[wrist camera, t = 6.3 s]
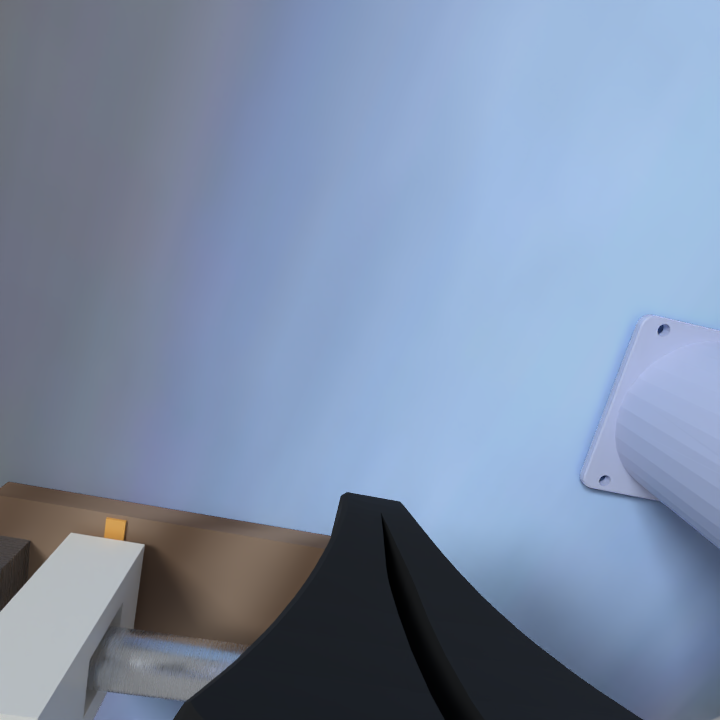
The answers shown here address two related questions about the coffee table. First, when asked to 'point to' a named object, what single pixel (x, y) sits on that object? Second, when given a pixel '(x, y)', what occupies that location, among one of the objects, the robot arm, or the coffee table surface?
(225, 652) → the rod jig
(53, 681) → the white block on rod
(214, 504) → the coffee table surface
